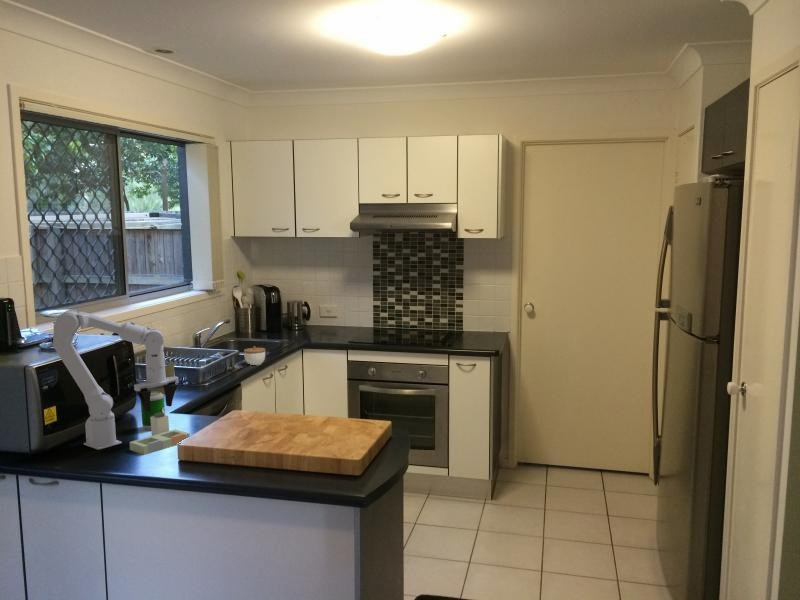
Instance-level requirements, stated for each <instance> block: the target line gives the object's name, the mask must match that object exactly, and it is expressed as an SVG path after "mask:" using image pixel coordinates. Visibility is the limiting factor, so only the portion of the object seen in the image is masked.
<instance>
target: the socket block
mask: <svg viewBox="0 0 800 600" xmlns="http://www.w3.org/2000/svg"><path fill="white" fill-rule="evenodd" d="M190 435H191V434H190V433H189V432H186V431H183V430H179V429H171V430H169V431H168V432H164V433H160V434H157V435H153V436H152V435H150V436H147V437H142V438H139V439H134V440H132V441H129V451H132V452H135V453H138V454H141V455H149V454H150V453H155V452H158V451H161V449H162V450H164V448H165V449H168V448H171V447H170V446H172V447H174V446H173V445H175V446H177V445H176V444H177V443H179V442H181V441H182V440H184V439H186V438H188V437H190V438H191V436H190ZM167 447H168V448H167Z"/></svg>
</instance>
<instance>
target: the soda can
mask: <svg viewBox="0 0 800 600" xmlns="http://www.w3.org/2000/svg"><path fill="white" fill-rule="evenodd" d="M165 406H166V405H165V394H162V393H161V392H156V391H155V392H151V395H150V411H149V412H147V411H145V409H144V406H143V403H142V401H141V400H140V409H141V421H142V422H141V425H142V427H143V428H144V429H145V430H146V429H147V431H151V418H150V417H152V416H154V414H157V413H164V414H165V415H166V409H165Z"/></svg>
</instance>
